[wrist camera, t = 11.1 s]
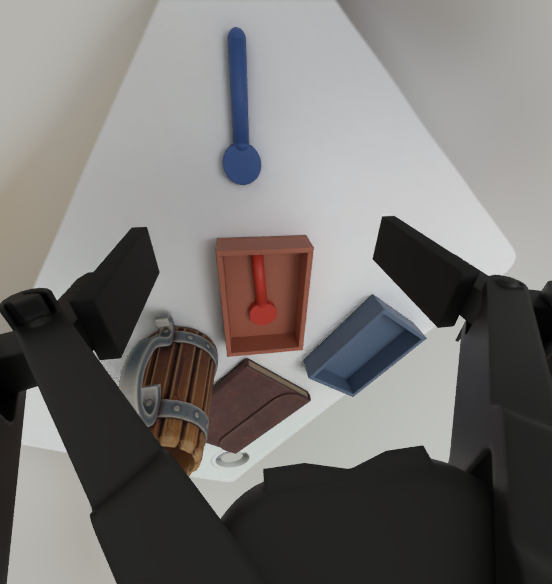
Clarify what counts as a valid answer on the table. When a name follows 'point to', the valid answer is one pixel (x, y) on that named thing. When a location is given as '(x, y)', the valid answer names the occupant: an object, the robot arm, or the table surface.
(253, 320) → the red spoon
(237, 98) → the blue spoon
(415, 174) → the table surface
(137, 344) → the mug
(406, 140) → the table surface
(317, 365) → the blue bin
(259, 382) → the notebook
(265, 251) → the red bin
